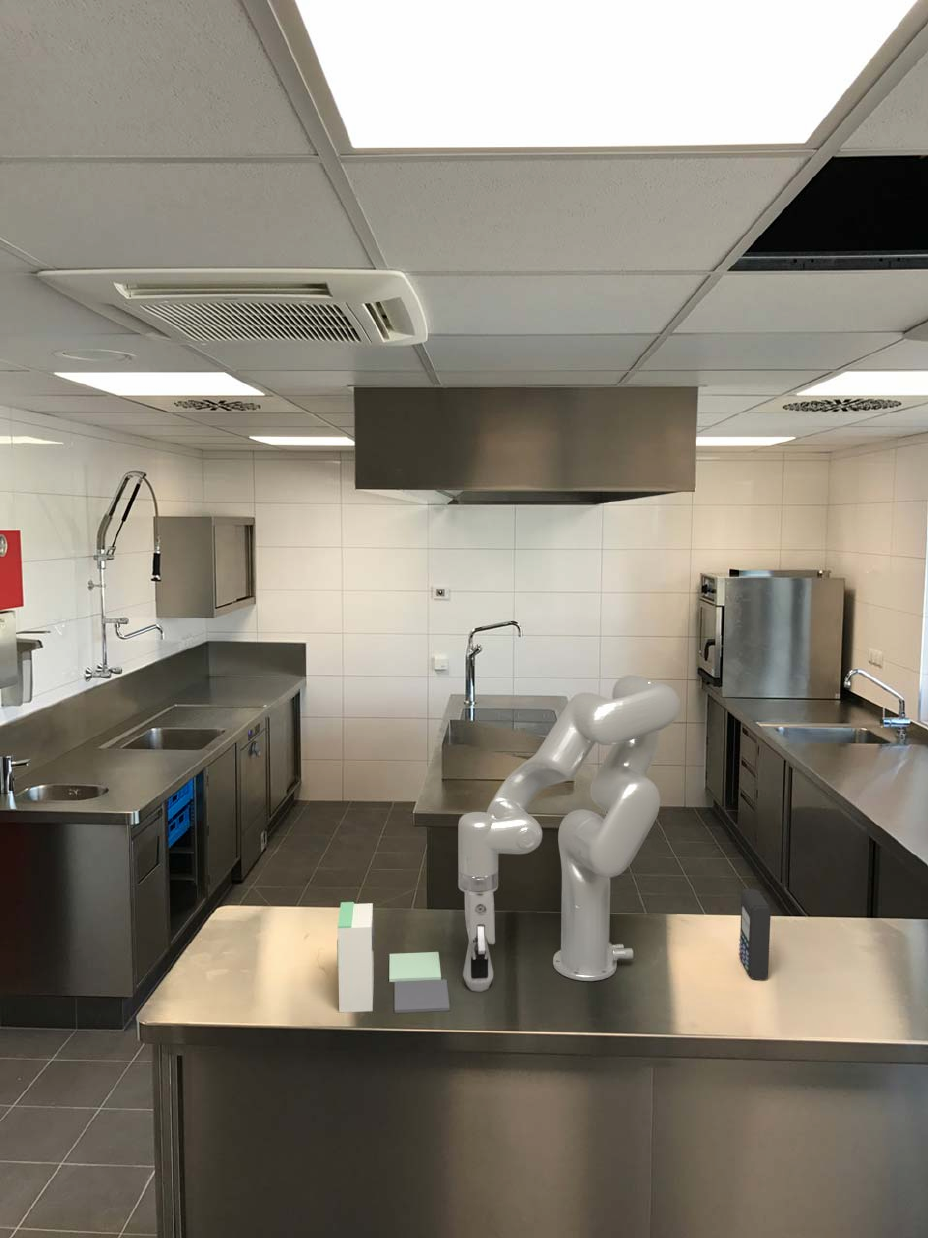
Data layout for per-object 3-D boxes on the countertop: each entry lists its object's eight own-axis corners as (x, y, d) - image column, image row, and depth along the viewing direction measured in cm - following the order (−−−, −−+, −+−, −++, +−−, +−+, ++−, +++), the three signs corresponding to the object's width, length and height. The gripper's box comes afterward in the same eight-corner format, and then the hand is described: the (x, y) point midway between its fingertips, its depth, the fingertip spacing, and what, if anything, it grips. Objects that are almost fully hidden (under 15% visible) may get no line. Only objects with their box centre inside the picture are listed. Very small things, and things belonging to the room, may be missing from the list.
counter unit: (375, 982, 170) (374, 901, 168) (374, 1011, 160) (373, 925, 158) (340, 984, 170) (339, 902, 168) (337, 1012, 160) (336, 926, 158)
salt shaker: (490, 996, 165) (490, 930, 164) (460, 992, 166) (460, 927, 165) (495, 980, 171) (495, 916, 170) (466, 977, 172) (466, 913, 171)
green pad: (438, 954, 181) (438, 952, 181) (440, 979, 171) (440, 977, 171) (389, 956, 180) (389, 954, 180) (389, 982, 170) (389, 979, 170)
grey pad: (446, 982, 170) (446, 979, 170) (449, 1010, 160) (449, 1007, 160) (394, 984, 169) (394, 981, 169) (394, 1013, 160) (394, 1010, 160)
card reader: (736, 957, 180) (738, 887, 178) (756, 958, 179) (759, 887, 178) (748, 981, 171) (750, 906, 169) (769, 981, 170) (772, 907, 169)
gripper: (503, 897, 158) (503, 993, 160) (493, 861, 175) (492, 949, 177) (461, 898, 158) (462, 995, 160) (455, 862, 174) (455, 950, 176)
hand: (478, 969), depth 168 cm, fingers open, 4 cm apart
